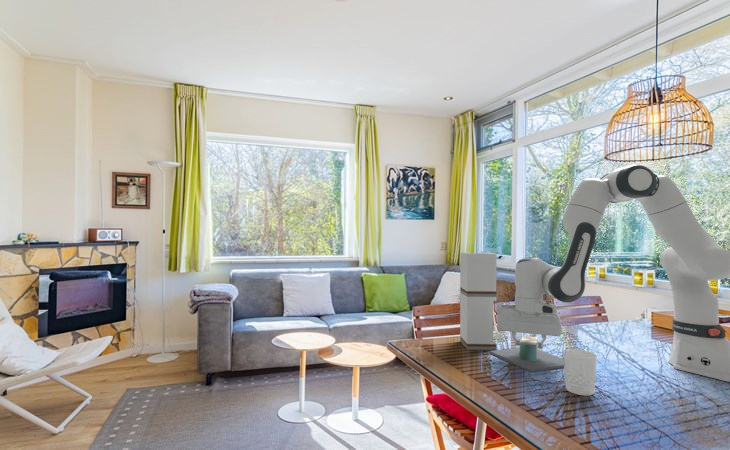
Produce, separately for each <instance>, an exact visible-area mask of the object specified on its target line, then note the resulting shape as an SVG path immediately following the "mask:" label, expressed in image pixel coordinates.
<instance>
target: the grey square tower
mask: <svg viewBox="0 0 730 450" xmlns="http://www.w3.org/2000/svg"><path fill="white" fill-rule="evenodd" d="M459 254H460V255H459V257H460V260H459V261H460V262H459V263H460V264H459V267H460V269H459V277H460V278H459V280H460V284H459V288H460V289H459V293H460V294H459V295H460V296H459V301H460V302H459V304H460V305H459V321H460V322H459V329H460V330H459V333H460V334H459V336H460V337H459V340H460V341H461V342H462V343H461V342H460V343H461V344H462V345H463V346H464V347H466V348H465V349H466V350H471V351H474V350H475V351H477V350H478V351H479V350H481V351H482V350H483V351H496V350H498V349H497V348H498V347H497V345H498V344H497V343H496V342H495V341H494V302H497V253H494V252H489V251H488V252H487V251H485V252H479V253H474V252H464V251H460V252H459Z"/></svg>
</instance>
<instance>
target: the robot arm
mask: <svg viewBox="0 0 730 450" xmlns="http://www.w3.org/2000/svg"><path fill="white" fill-rule="evenodd" d="M633 200H636V201H638V202H639V203H640V204H641V205H642V207H643V209H644V212H645V213H646V215H647V217H648V219H649V221H650V222H651V225H652V227H653V229H654V231H655V232H656V234H657V235H658V237H660V239H662V240H663V241H665V242H666V243H667V244H668V245H669V247H666V248H665V249H664V250H663V251H662V252H661V254H660V255H659V256H660V257H659V262H660V265H661V267H662V268H663V270H664V271H665V273H666V275H667V278H668V281H669V284H670V287H671V292H672V296H673V298H672V299H673V319H672V326H671V327H672V329H671V330H672V335H673V339H672V345H671V351H670V352H671V353H670V355H669V357H668V358H669V359H668V363H669V364H670V365H672V366H673V368H674V370H675V369H676V370H680V371H683V372H687V373H692V374H696V375H700V376H704V377H708V378H710V379H711V378H712V379H715V380H720V381H724V382H728V383H730V340H729V339H728V338H727V336H726V333H730V331H729V330H730V328H723V327H722V325H721V324H720V322H719V321H720V319H719V315H720V314H719V300H718V299H719V298H717V296H716V295H715V293H714V292H713V291H712V289H711V287H710V284H709V281H710V282H711V281H719V280H724V279H727V278H729V277H730V251H729V250H728V249H726V248H724V247H722V246H721V245H720V244H719V243H718V242H717V241H716V240H715V239H714V238H713V237H712V236H711V235H710V234H709V233H708V232H707V230H705V229H704V228H703V226H702V225H701V224H700V222H699V221H698V219H697V218H696V217H695V214H694V212H693V211H692V209H691V207H690V205H689V204H688V202H687V200H686V198H685V196H684V195H683V194H682V191H680V189H679V187H678V186H677V185H676V184H675V182H674V181H673V180H672V179H671V178H670V177H669V176H667V175H663V174H658V175H657V174H655V173H654V172H653V170H651V169H650V168H649V167H647V166H645V165H641V164H630V165H626V166H623V167H620V168H616V169H614V170H612V171H611V172H609V173H607V174H604V175H602V177H600V178H596V177H595V178H594V177H593V178H592V177H591V178H586V179H583V180H581V181H580V182H579V184H578V185H577V187H576V188H575V190H574V192H573V194H572V195H571V197H570V198H569V201H568V203H567V206H566V209H565V211H564V213H563V214H564V215H563V220H562V224H563V227H564V228H565V231H566V232H567V233H568V235H569V239H570V240H569V241H570V242H569V246H568V249H567V252H566V255H565V259H564V261H563V264H562V265H561V266H560V267H558V266H557V267H556V266H554V265H552V264H549V263H547V262H545V261H543V259H541V258H540V257H536V256H535V257H534V256H532V257H524V258H522V259H519V260H517V262H516V263H515V270H514V286H515V293H514V303H505V302H504V303H501V304H499V305H497V306H496V314H497V324H496V327H497V329H498V331H501V332H511V337H512V338H513V339H514V345H515V346H519V347H520V342H521V339H518V337H517V336H516V335H517V333H522V334H531V335H539V336H540V335H541V340H540V341H538V349H543V348H544V342H545V341H546V340H547V336H549V337H561V336H562V334H563V328H562V321H561V317H560V315H559V314H558V306H557V305H556V304H553V303H551V302H548V301H545V300H544V295H549V296H551V297H553V298H555V299H556V300H557V301H559V302H562V303H573V302H575V301H578V300H579V299H580V298H581V297H582V296H583V294H584V292H585V288H586V280H585V276H586V270H587V267H588V263H589V260H590V258H591V254H592V251H593V248H594V245H595V240H596V237H597V233H598V232H597V231H598V229H599V226H600V224H601V222H602V219H603V216H604V213H605V211H606V208H607V207H608V205H609V204H610V203H611V204H612V203H613V204H614V203H615V204H616V203H617V204H618V203H621V202H622V203H623V202H629V201H633Z"/></svg>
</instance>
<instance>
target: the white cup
mask: <svg viewBox="0 0 730 450" xmlns="http://www.w3.org/2000/svg"><path fill="white" fill-rule="evenodd" d="M562 353H563V359H564V368H563V372H564V381H565V384H564V385H565V390H566V391H568V393H569V392H570V393H572V394H575V395H580V396H592V395H594V394H595V384H596V378H597V377H596V376H597V354H596V353H594V352H591V351H589V350H583V349H577V348H575V349H574V348H568V349H564V350H563V351H562Z"/></svg>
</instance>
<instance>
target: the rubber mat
mask: <svg viewBox="0 0 730 450" xmlns="http://www.w3.org/2000/svg"><path fill="white" fill-rule="evenodd" d="M489 354H491V355H493V356H495V357H497V358H499V359H501V360H504V361H506V362H508V363H510V364H512V365H515V366H517V367H519V368H521V369H523V370H525V371H527V372H529V373H533V372H541V371H549V370H557V369H564V357H563V358H562V357H559V356H557V355H554V354H552V353H548V352H546V351H544V350H541V349H538V354H537V361H531V360H524V359H520V347H517V348H516V347H515V348H507V349H497V350H489Z"/></svg>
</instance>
